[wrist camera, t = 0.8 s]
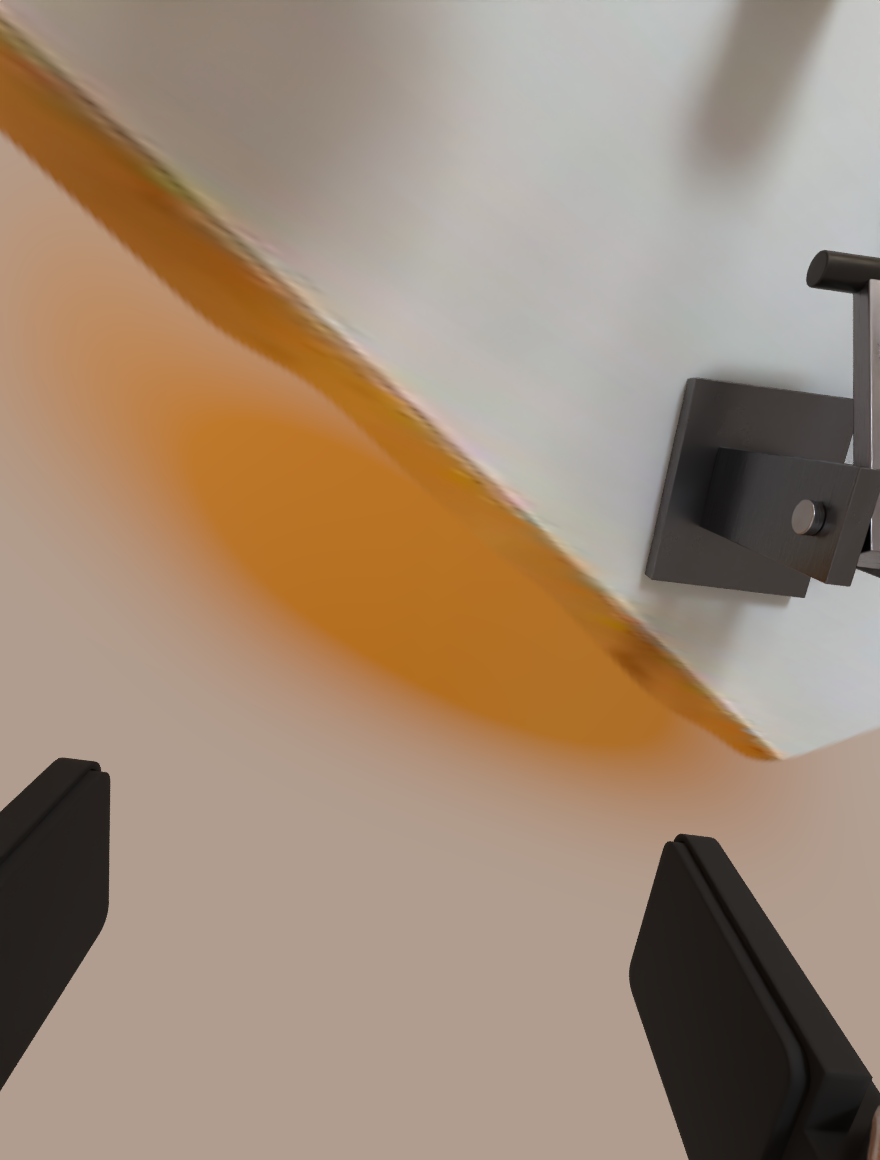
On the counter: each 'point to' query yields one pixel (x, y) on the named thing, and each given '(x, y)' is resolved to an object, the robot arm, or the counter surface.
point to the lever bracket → (762, 492)
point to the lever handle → (860, 363)
